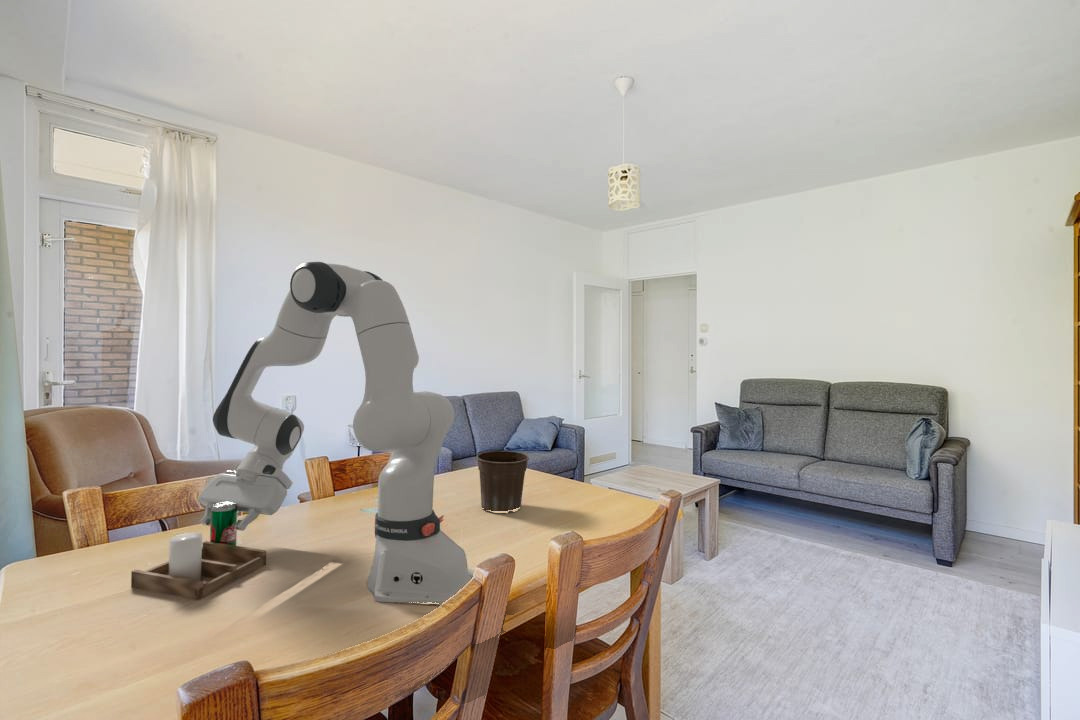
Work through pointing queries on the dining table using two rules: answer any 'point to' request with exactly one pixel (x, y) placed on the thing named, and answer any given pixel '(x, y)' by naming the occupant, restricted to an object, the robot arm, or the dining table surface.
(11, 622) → the dining table surface
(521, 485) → the plant pot
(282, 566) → the dining table surface
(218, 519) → the soda can
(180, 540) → the white rounded cylinder
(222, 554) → the divided compartment tray
